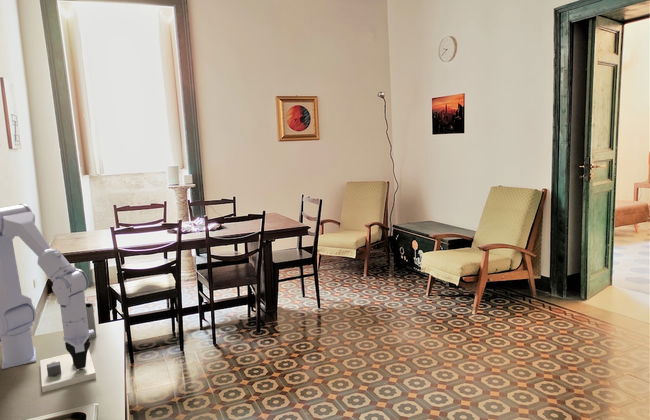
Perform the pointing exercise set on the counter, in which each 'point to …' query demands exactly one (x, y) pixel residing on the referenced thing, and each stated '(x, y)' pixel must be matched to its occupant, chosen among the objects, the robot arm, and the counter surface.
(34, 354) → the robot arm
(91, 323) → the planter
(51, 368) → the block
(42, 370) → the panel
